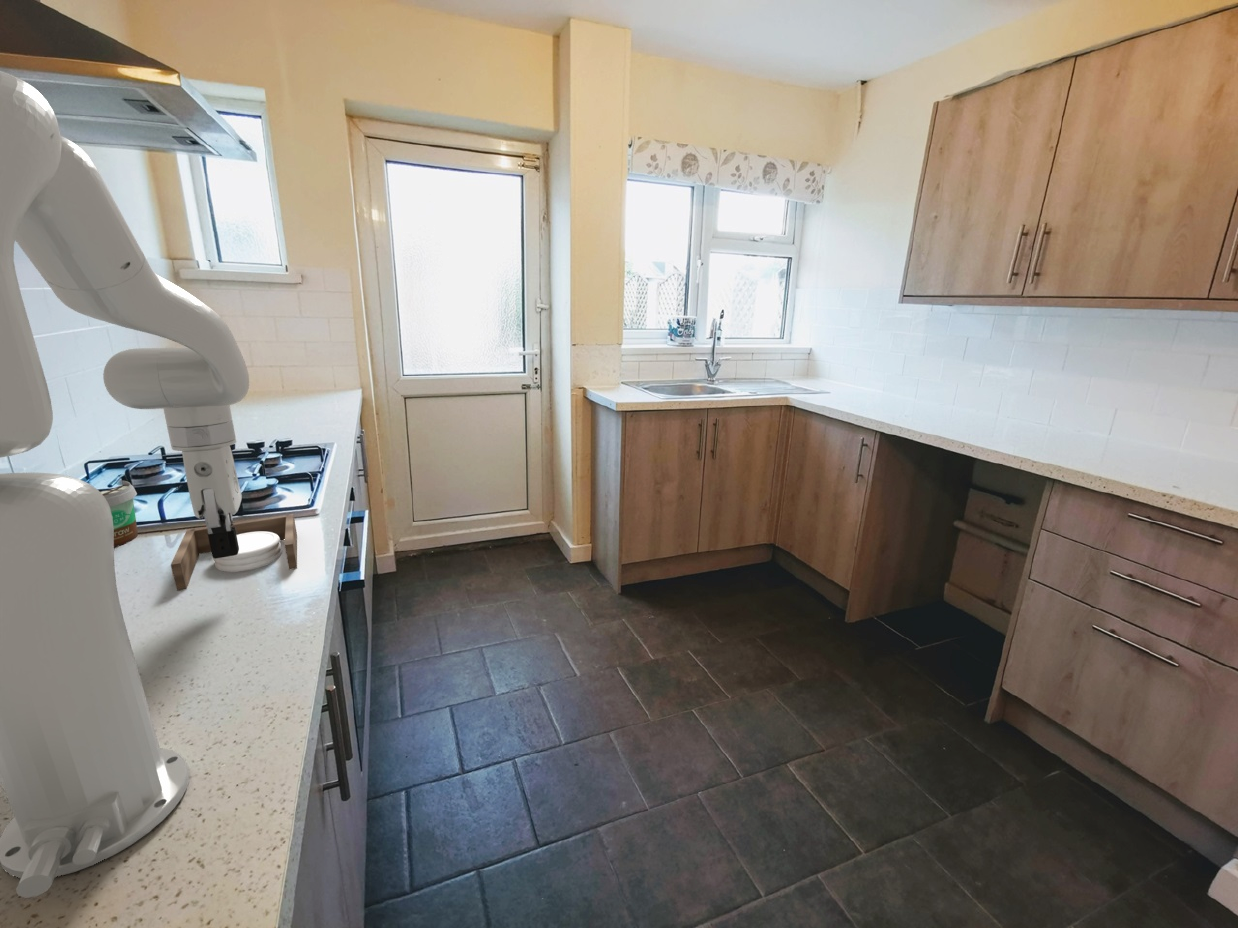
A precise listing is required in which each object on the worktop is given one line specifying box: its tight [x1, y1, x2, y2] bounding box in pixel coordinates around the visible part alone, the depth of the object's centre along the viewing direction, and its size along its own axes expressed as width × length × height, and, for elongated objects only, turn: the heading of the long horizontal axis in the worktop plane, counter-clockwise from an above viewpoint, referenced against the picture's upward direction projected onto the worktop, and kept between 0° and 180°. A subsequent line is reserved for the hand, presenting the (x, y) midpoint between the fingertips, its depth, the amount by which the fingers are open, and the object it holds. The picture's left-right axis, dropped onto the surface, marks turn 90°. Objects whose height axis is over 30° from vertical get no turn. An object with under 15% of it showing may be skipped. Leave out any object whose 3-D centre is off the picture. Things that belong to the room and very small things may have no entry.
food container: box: [98, 480, 139, 548], centre depth 103 cm, size 12×6×10 cm, turn 168°
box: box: [170, 513, 298, 592], centre depth 97 cm, size 15×16×4 cm
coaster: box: [212, 531, 283, 573], centre depth 98 cm, size 10×10×4 cm
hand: (226, 554), depth 84 cm, fingers closed
